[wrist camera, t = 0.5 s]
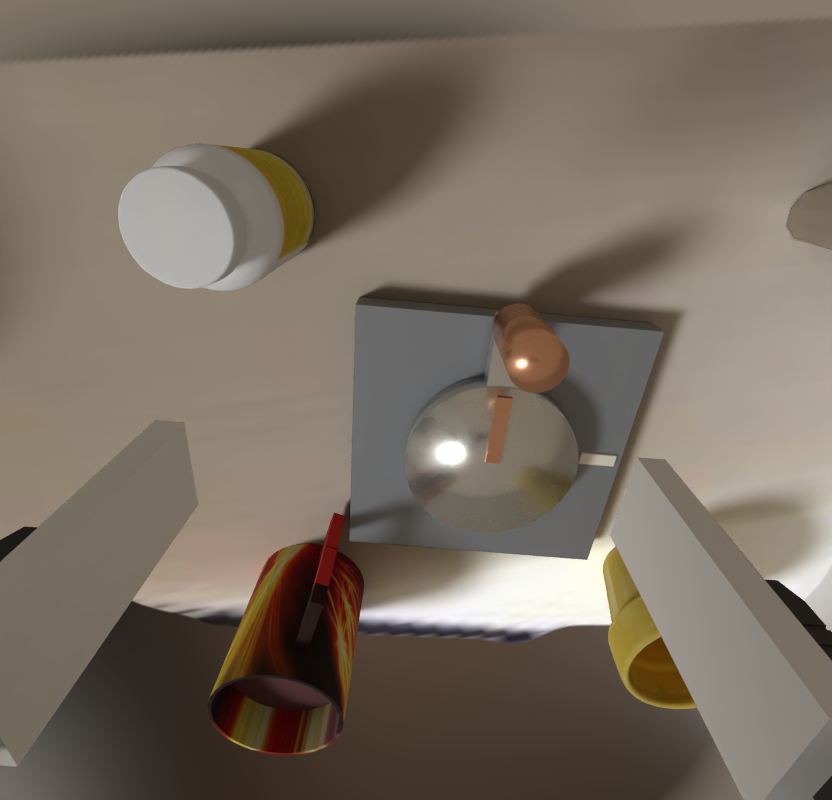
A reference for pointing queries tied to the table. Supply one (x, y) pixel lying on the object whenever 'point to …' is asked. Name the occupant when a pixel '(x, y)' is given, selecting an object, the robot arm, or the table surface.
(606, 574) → the plant pot
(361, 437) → the base plate
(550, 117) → the table surface
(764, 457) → the table surface
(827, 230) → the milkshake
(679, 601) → the robot arm
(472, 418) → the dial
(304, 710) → the mug
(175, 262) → the pill bottle
